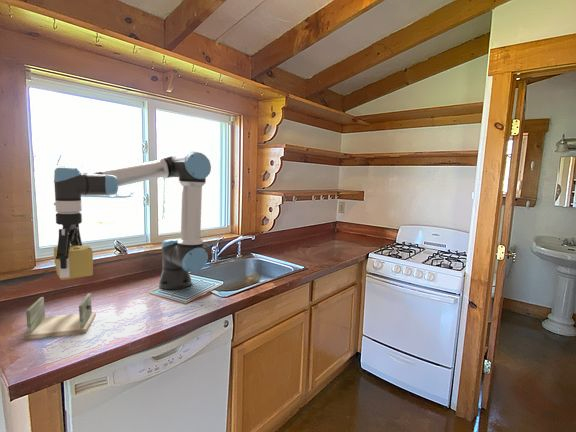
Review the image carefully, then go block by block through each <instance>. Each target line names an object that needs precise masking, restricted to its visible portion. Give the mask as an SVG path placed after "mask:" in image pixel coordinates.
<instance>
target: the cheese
mask: <svg viewBox="0 0 576 432" xmlns="http://www.w3.org/2000/svg"><path fill="white" fill-rule="evenodd" d="M57 248H58V245H57V246H54V247H53V261H54V266H55V271H56V275H57V276H58V277H59V279H60V281H64V280H71V279H77V278H83V277H91V276H94V275H93V274H94V255H93V254H94V253H93V248H92V247H90V246H89V245H82V246H78V245H73V246H71V245H70V250H69V255H68V258H69V266H70V277H69V278H60V269H59V259H56V256H57Z"/></svg>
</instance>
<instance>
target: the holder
mask: <svg viewBox="0 0 576 432" xmlns="http://www.w3.org/2000/svg"><path fill="white" fill-rule="evenodd" d="M45 311H46V310H45V297H44V296H41V297H39V298H38V299H37V300H36V301H35V302H33V303H32V304H31V305H30V306H29V307H28V308H27V309H26V311H25V316H26V326H27V328H26V329H27V330H26V332H24V333H23V335H22V340H24V341H26V340H34V339H35V340H36V339H44V338H52V337H60V336H61V337H62V336H70V335H80V334H81V335H82V334H87V332H88V330H89V329H90V327H91V325H92V323H93V322H94V320H95V317H96V316H97V315H96V314H97V313H96V311H92V293H91V292H90V293H87V294H86V295H85V297H84V299H82V301H81V303H80V304H79V305H78V313H73V314H72V313H71V314H63V315H62V314H61V315H51V316H46V312H45Z"/></svg>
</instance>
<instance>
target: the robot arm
mask: <svg viewBox="0 0 576 432" xmlns="http://www.w3.org/2000/svg"><path fill="white" fill-rule="evenodd" d="M211 168H212V165H211V161H210V158H208V157H207V155H205V154H204V153H202V152H197V151H188V152H186V151H185V152H184V151H182V152H177V153H174V154H170V155H166V156H163V157H161V156H160V157H158V159H157V160H153V161H148V162H143V163H137V164H131V165H126V166H125V165H124V166H121V167H116V168H110V169H105V170H100V171H94V172H84V173H83V172H81V169H80V168H77V167H76V168H75V167H74V168H73V167H56V168H55V169H54V172H53V173H54V175H53V177H54V178H53V179H54V180H53V184H54V199H55V202H54V203H53V206H55V212H57V213H56V214H55V223H56V224H57V225H60V226H62V228H58V240H57V246H58V248H57V256H56V259H59V269H60V278H69V277H70V266H69V258H68V255H69V250H70V246H73V245H78V246H83V243H82V237H81V233H80V231H81V230H80V224H81V223H82V222H83V219H82V218H83V217H82V209H83V207H82V196H114V195H116V194H117V193H118V191H119V190H118V189H119V187H122V186H125V185H126V186H127V185H130V184H135V183H140V182H145V181H149V180H150V181H151V180H153V179H159V178H163V179H168V178H178V183H180V185H181V214H180V215H181V216H180V217H181V221H180V223H181V225H180V226H181V227H180V237H179V238H178V237H177V238H171V239H170V238H169V239H165V240H162V243H161V254H162V255H161V257H162V259H161V261H162V262H161V263H162V271H161V275H160V278H159V281H158V285H159V288H160V289H162V288H166V289H165V290H167V289H176V290H182V289H181V288H183V289H186V288H188V287H190V286H191V285H192V278H191V277H192V276H191V275H190V273H197V272H199V271H201V270H202V269H203V268H204V267H206V265H207V262H208V259H209V256H208V252H207V251H206V250H205V249H204V241H203V239H202V238H201V229H202V226H201V225H202V223H201V222H202V221H201V220H202V197H203V195H202V194H203V186H204V185H205V184H206V181H207V180H206V179H207V177H208V176H209V175H210V174H211V171H212V169H211ZM60 278H59V279H60ZM190 284H191V285H190ZM189 285H190V286H189ZM187 286H188V287H187ZM185 287H186V288H185Z"/></svg>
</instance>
